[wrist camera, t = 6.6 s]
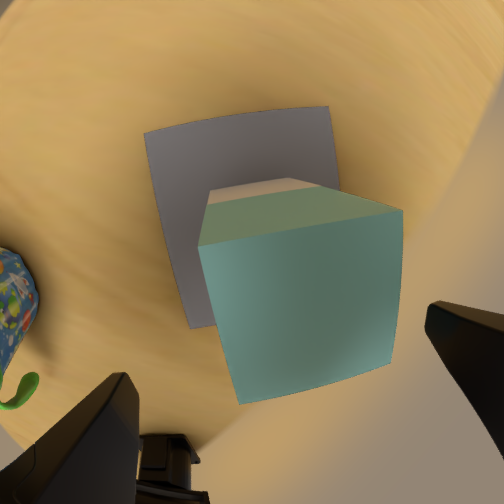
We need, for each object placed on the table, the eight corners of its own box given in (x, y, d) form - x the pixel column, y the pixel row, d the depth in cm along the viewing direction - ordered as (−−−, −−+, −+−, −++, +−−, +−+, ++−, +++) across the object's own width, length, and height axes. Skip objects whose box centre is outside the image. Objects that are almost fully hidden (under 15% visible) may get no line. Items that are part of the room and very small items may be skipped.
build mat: (342, 293, 21) (345, 296, 21) (190, 324, 21) (190, 329, 20) (325, 107, 17) (328, 106, 16) (146, 134, 16) (143, 133, 16)
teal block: (329, 288, 14) (390, 363, 8) (228, 309, 13) (239, 404, 8) (321, 185, 12) (402, 210, 6) (206, 204, 12) (197, 246, 6)
